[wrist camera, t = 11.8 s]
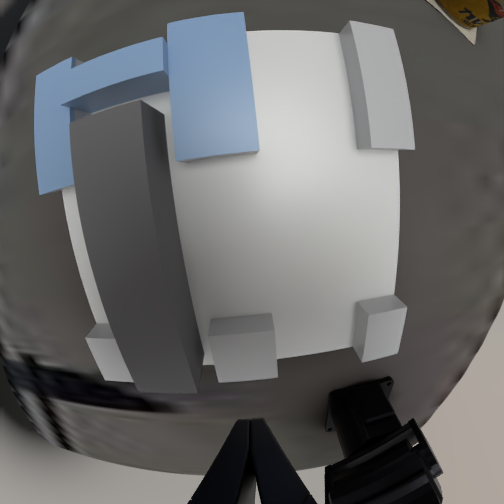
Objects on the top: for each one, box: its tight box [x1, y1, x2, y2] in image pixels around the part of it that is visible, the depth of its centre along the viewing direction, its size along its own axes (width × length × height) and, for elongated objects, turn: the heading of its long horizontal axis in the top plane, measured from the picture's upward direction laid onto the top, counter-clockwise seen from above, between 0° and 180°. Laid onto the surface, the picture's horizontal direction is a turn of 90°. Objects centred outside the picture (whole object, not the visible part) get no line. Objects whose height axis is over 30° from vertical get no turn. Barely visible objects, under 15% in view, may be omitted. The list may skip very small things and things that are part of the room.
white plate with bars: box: [34, 12, 415, 383], centre depth 14 cm, size 22×22×4 cm
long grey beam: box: [69, 100, 204, 393], centre depth 14 cm, size 16×4×4 cm, turn 6°
